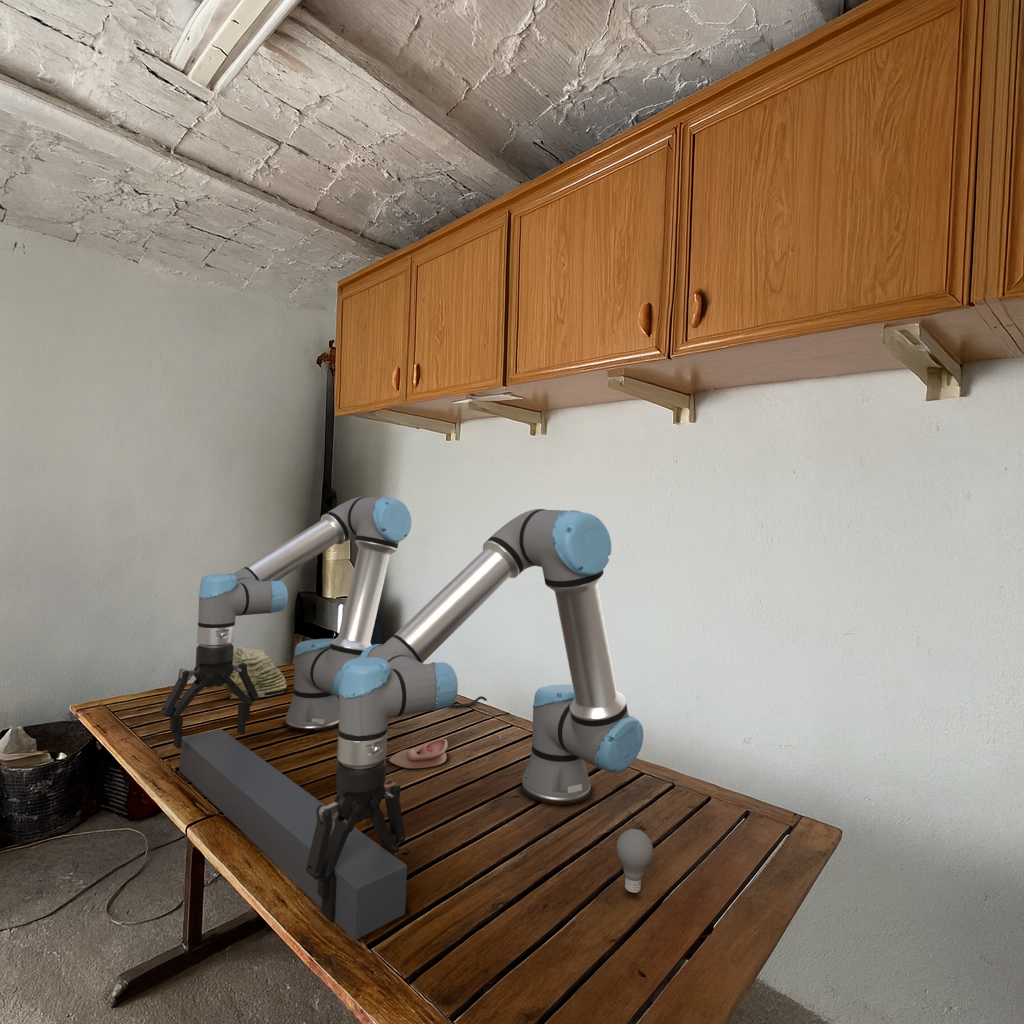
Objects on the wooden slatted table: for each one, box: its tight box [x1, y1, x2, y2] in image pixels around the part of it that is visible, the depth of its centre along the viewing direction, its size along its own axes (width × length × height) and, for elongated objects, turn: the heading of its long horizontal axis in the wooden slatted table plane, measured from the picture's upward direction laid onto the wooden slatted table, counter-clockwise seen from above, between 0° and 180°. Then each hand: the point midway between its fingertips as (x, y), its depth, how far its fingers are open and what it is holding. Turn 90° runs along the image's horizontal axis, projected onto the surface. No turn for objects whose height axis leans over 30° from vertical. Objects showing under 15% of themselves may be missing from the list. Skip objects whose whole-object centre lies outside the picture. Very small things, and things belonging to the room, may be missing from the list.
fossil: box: [222, 646, 288, 699], centre depth 198 cm, size 9×18×15 cm, turn 132°
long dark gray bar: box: [179, 728, 408, 941], centre depth 120 cm, size 74×9×8 cm, turn 45°
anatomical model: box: [388, 738, 449, 769], centre depth 154 cm, size 13×4×12 cm
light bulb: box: [615, 828, 654, 894], centre depth 106 cm, size 6×6×10 cm
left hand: (210, 739), depth 141 cm, fingers open, 13 cm apart
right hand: (356, 902), depth 99 cm, fingers closed on long dark gray bar, 9 cm apart
